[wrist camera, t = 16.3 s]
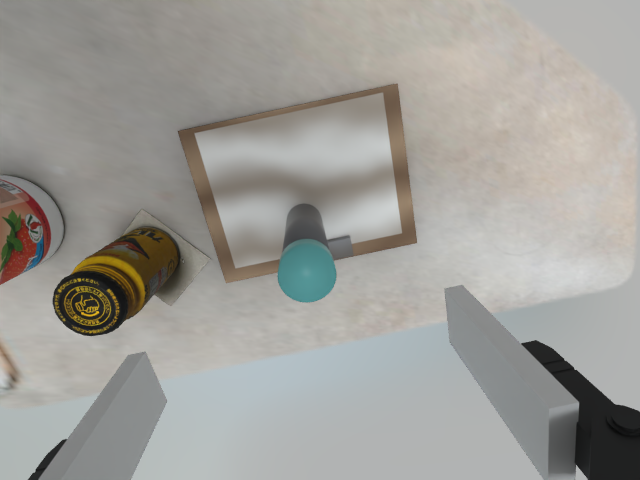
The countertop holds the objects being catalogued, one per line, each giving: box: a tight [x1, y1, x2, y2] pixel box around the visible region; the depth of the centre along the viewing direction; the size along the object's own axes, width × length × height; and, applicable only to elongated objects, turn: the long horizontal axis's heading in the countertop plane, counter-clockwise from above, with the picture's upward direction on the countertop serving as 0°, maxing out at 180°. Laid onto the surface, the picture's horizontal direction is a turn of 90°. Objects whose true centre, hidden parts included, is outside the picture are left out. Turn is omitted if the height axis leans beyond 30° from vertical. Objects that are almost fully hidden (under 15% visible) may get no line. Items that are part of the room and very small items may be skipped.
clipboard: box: [178, 84, 417, 283], centre depth 35 cm, size 16×21×2 cm
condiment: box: [53, 209, 210, 336], centre depth 32 cm, size 7×8×12 cm
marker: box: [278, 204, 336, 302], centre depth 30 cm, size 4×4×14 cm
